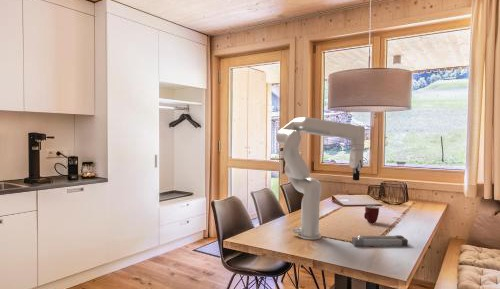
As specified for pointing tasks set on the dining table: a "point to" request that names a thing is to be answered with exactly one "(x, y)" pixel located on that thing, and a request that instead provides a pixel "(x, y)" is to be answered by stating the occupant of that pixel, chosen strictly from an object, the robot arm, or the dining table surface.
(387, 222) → the dining table surface
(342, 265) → the dining table surface
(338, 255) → the dining table surface
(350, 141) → the robot arm
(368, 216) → the mug
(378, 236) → the tongs leg
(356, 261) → the dining table surface
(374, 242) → the base
